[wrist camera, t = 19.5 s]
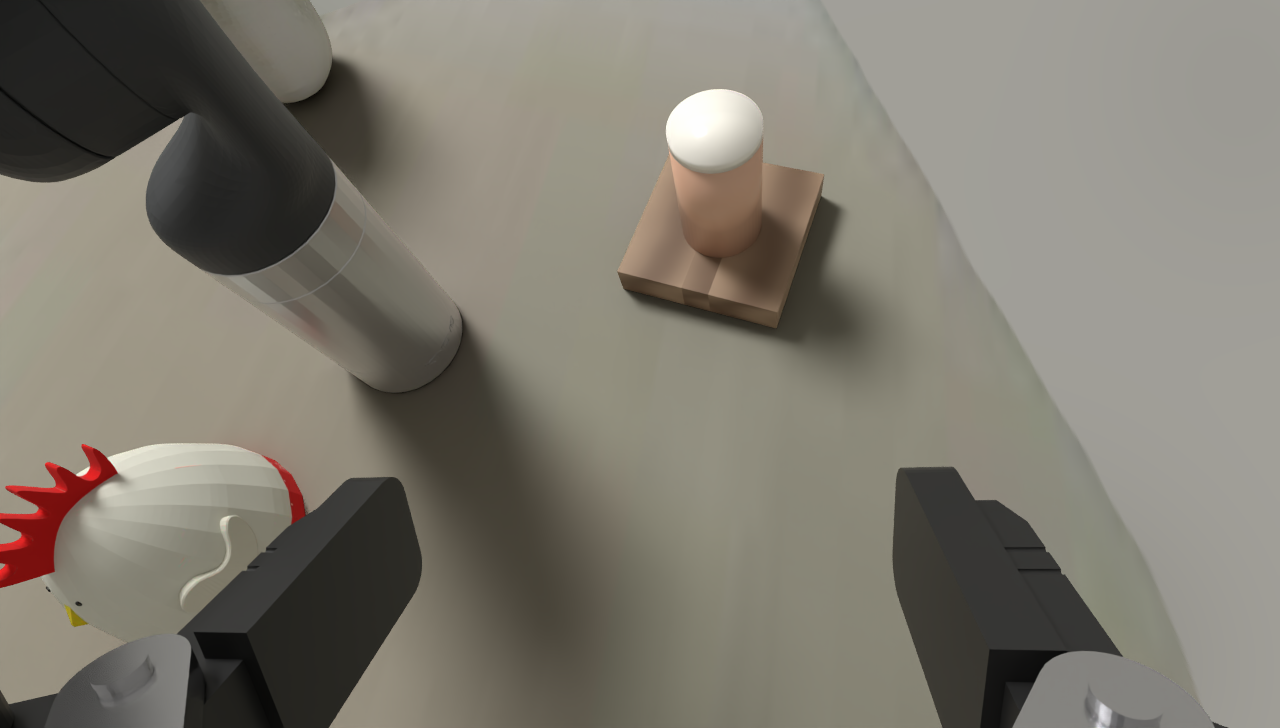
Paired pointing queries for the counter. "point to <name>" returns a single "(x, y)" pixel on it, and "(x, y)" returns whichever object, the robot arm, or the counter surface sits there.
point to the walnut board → (729, 283)
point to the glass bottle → (278, 42)
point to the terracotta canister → (717, 170)
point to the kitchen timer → (149, 532)
